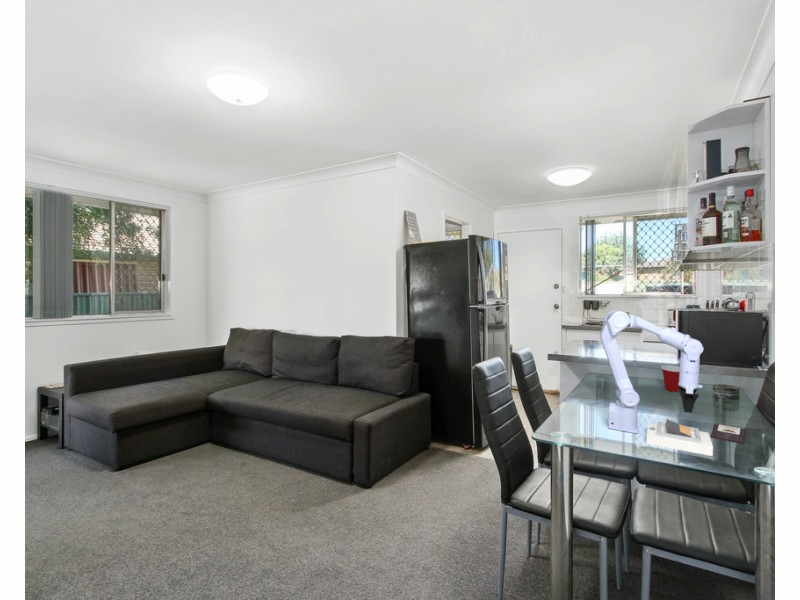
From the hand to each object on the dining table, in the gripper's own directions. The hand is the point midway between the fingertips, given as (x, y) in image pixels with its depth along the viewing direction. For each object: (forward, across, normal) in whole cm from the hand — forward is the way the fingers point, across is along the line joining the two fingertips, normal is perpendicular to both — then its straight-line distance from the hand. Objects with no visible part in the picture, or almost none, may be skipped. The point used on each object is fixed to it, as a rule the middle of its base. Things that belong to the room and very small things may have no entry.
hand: (687, 409), depth 150 cm
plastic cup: (+10, +73, +3) cm, 74 cm away
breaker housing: (+9, -10, +3) cm, 14 cm away
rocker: (+6, -10, +3) cm, 12 cm away
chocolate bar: (+10, +11, -13) cm, 20 cm away
